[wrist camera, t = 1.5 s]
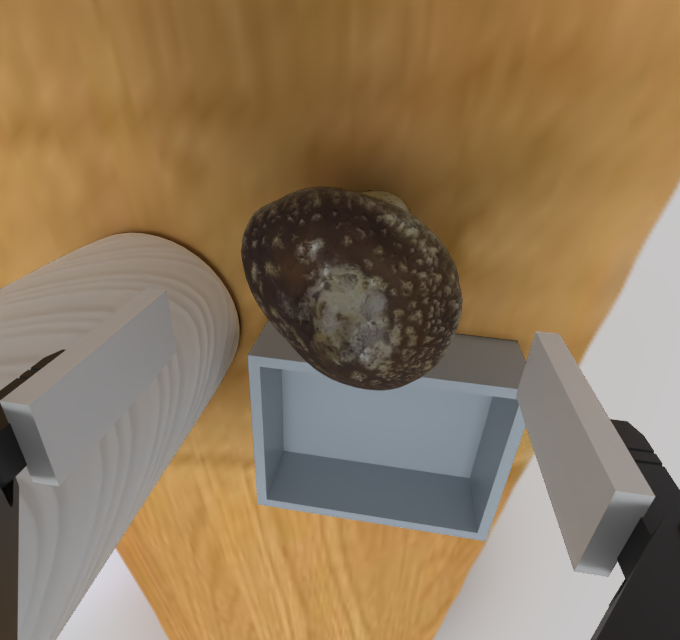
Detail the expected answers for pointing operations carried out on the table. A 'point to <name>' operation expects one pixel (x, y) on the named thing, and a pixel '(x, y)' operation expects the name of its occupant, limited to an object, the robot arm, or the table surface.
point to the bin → (389, 438)
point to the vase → (134, 424)
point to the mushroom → (354, 284)
